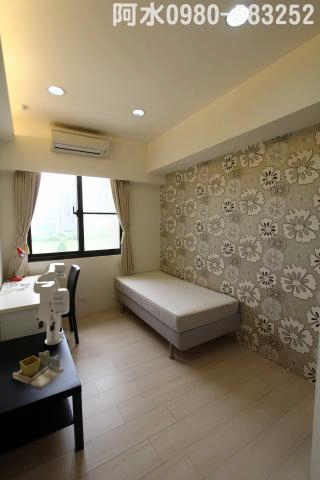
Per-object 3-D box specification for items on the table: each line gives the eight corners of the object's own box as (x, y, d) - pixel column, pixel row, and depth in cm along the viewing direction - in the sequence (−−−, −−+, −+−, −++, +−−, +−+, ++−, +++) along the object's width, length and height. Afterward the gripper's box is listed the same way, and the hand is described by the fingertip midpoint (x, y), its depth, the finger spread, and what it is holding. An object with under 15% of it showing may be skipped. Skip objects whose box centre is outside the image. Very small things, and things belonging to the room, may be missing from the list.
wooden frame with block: (40, 359, 155) (40, 348, 154) (55, 364, 150) (55, 352, 150) (12, 378, 136) (12, 365, 135) (28, 384, 131) (28, 371, 131)
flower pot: (34, 367, 146) (33, 355, 145) (40, 373, 141) (40, 360, 140) (19, 375, 139) (19, 361, 138) (26, 381, 134) (25, 367, 133)
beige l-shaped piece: (53, 367, 147) (53, 353, 146) (63, 370, 144) (63, 356, 143) (31, 384, 131) (30, 369, 130) (41, 388, 128) (40, 373, 127)
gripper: (61, 303, 143) (61, 329, 144) (41, 300, 149) (41, 324, 150) (51, 307, 136) (52, 334, 137) (31, 303, 142) (31, 329, 143)
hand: (46, 329), depth 144 cm, fingers open, 9 cm apart
